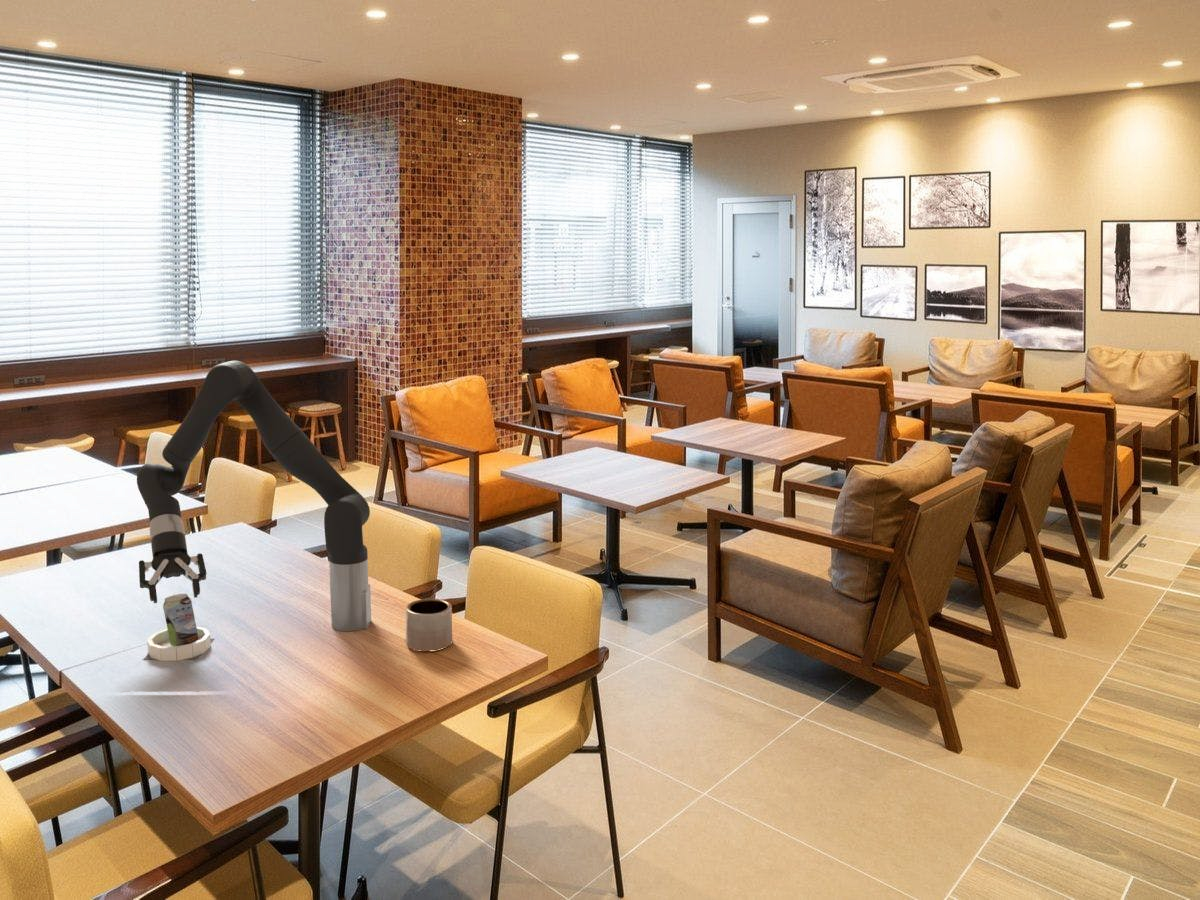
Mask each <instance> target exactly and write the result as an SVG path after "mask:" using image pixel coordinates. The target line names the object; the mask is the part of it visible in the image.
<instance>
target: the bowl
mask: <svg viewBox="0 0 1200 900" xmlns="http://www.w3.org/2000/svg"><path fill="white" fill-rule="evenodd" d="M196 628H197V633H198V640H196V642H193V643H191V644H187V645H182V646H172V645H171V644H170V639H169V634H168V629H167V628H164V629H162V630H159V631H157V632H154V633H152V634H151V635H150V636H149V637H148V638H147V639H146V642H147V643H146V645H147V653H148V654H149V655H150V657H151V658H154V659H157V660H156V661H161V662H163V661H164V662H166V661H167V662H169V661H171V662H176V661H184V660H183V659H188V658H193V657H195V656H198V655H200V654H202V655H203V654H204V653H206V652H207V651H208V650H209V649H210V647H211V646H212V645H211V644H212V643H211V640H210V639H211V633H210V632H209V629H207V628H206V627H201V626H198V625H196Z"/></svg>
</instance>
